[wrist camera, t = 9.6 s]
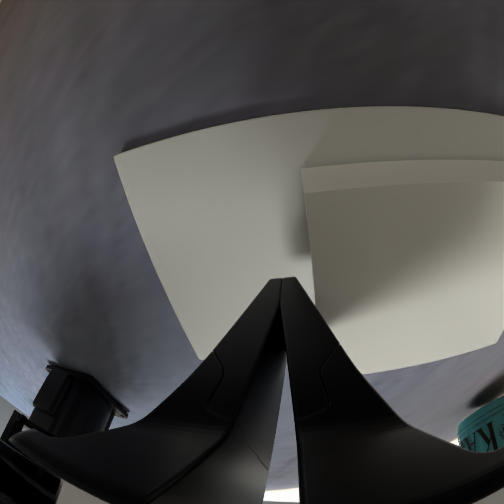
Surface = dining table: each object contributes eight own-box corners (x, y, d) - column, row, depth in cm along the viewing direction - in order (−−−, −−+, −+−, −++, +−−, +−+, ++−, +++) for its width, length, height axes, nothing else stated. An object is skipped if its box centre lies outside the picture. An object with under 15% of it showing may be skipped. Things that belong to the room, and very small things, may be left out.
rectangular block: (317, 336, 11) (478, 309, 10) (318, 379, 9) (496, 343, 8) (299, 167, 8) (512, 160, 6) (304, 193, 6) (549, 182, 4)
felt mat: (484, 320, 10) (487, 325, 10) (201, 353, 13) (199, 359, 13) (526, 120, 5) (532, 122, 5) (119, 153, 8) (113, 156, 8)
